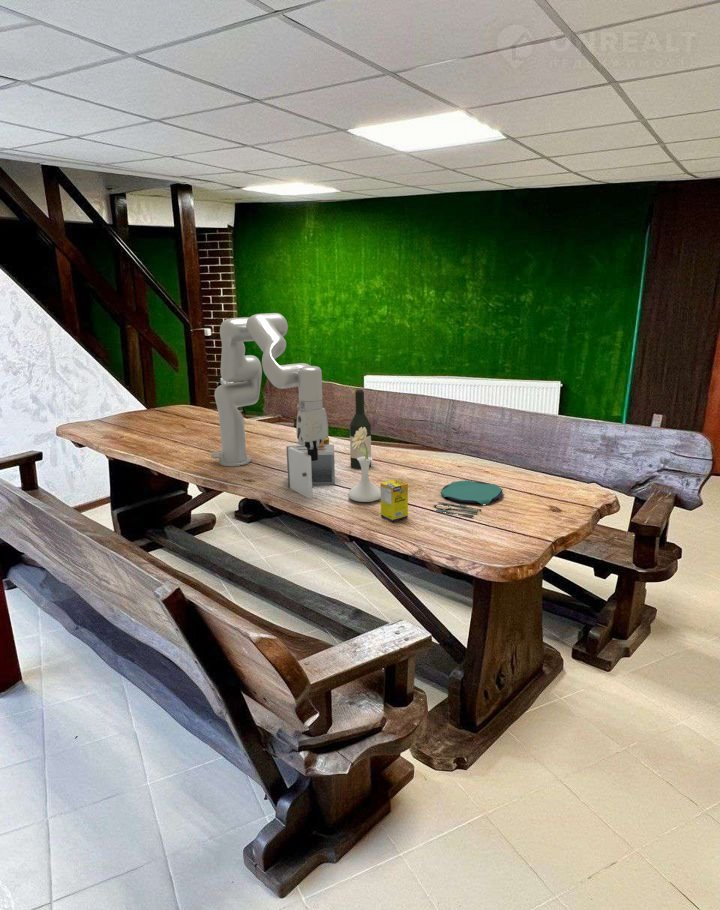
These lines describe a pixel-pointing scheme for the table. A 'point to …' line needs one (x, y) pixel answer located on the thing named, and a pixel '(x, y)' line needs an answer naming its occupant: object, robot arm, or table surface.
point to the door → (299, 472)
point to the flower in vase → (363, 473)
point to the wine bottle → (355, 424)
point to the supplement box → (394, 500)
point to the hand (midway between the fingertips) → (312, 459)
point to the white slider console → (321, 465)
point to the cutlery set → (469, 494)
